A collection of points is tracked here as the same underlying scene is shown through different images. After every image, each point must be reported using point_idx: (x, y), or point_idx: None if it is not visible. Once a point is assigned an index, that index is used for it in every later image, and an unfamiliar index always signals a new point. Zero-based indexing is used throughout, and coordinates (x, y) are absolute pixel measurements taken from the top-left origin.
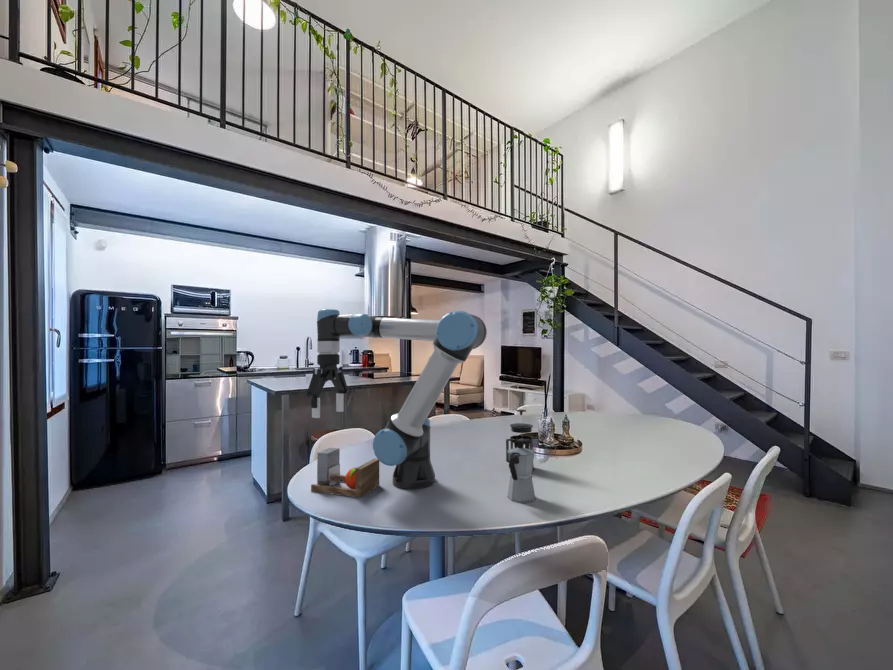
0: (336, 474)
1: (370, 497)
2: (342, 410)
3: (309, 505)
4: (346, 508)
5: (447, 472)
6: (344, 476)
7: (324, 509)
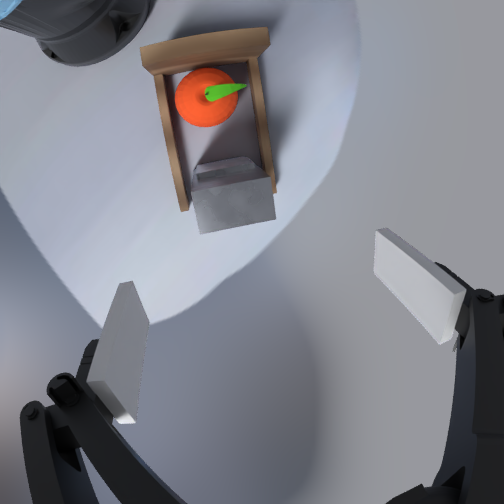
0: (215, 165)
1: None
2: (130, 286)
3: (338, 126)
4: (315, 42)
5: None
6: (178, 166)
7: (340, 82)
